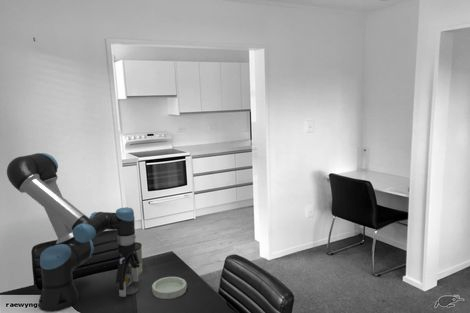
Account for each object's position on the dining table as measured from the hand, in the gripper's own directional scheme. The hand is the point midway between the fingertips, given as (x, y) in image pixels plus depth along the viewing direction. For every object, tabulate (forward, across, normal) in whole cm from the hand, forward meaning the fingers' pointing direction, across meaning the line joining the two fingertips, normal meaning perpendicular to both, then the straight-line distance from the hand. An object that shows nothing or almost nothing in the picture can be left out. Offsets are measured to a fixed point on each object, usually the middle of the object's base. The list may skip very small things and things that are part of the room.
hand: (129, 288), depth 165 cm
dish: (+1, +2, -18) cm, 18 cm away
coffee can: (+2, +18, +6) cm, 19 cm away
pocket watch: (+2, 0, 0) cm, 2 cm away
